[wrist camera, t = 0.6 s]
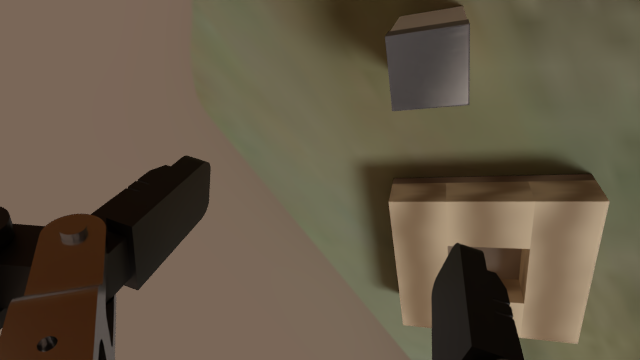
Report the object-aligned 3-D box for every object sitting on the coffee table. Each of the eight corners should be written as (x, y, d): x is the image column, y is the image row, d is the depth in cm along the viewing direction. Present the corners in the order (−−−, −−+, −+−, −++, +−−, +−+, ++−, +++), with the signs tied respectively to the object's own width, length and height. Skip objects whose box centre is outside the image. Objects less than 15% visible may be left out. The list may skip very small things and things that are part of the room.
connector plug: (463, 4, 27) (469, 23, 20) (464, 69, 29) (469, 104, 22) (399, 15, 28) (385, 36, 22) (403, 75, 30) (392, 111, 24)
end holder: (591, 173, 30) (609, 201, 27) (566, 309, 38) (577, 343, 35) (393, 178, 35) (388, 201, 32) (406, 296, 43) (403, 325, 40)
